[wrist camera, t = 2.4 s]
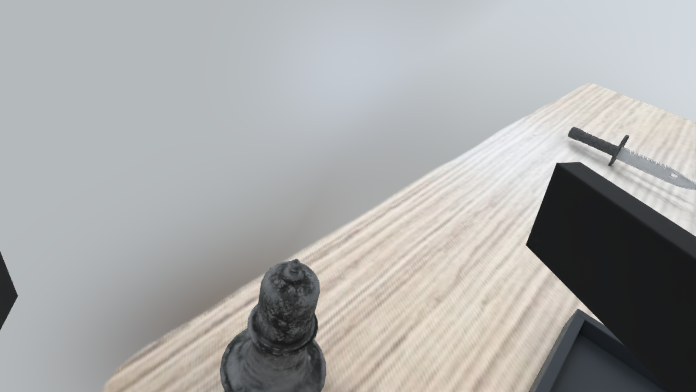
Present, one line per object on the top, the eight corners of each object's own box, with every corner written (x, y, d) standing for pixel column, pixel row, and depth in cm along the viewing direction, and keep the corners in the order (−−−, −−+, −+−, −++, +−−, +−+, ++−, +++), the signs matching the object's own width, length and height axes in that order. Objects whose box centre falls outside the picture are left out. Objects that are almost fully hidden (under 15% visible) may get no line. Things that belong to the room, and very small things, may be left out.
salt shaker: (197, 424, 24) (200, 280, 17) (247, 342, 29) (265, 202, 22) (293, 468, 24) (337, 335, 17) (328, 376, 28) (374, 243, 21)
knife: (696, 201, 60) (719, 171, 58) (693, 206, 59) (716, 175, 56) (567, 142, 71) (581, 114, 68) (561, 145, 69) (575, 116, 67)
